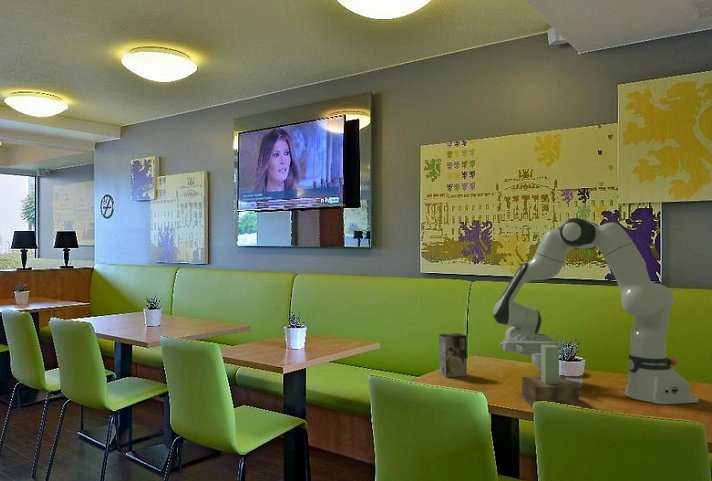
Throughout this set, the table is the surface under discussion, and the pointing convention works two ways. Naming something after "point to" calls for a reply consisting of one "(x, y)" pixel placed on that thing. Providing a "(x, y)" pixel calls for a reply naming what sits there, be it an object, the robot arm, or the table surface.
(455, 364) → the coffee box
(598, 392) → the table surface
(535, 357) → the paper bowls
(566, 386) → the base
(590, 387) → the table surface
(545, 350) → the pillar
